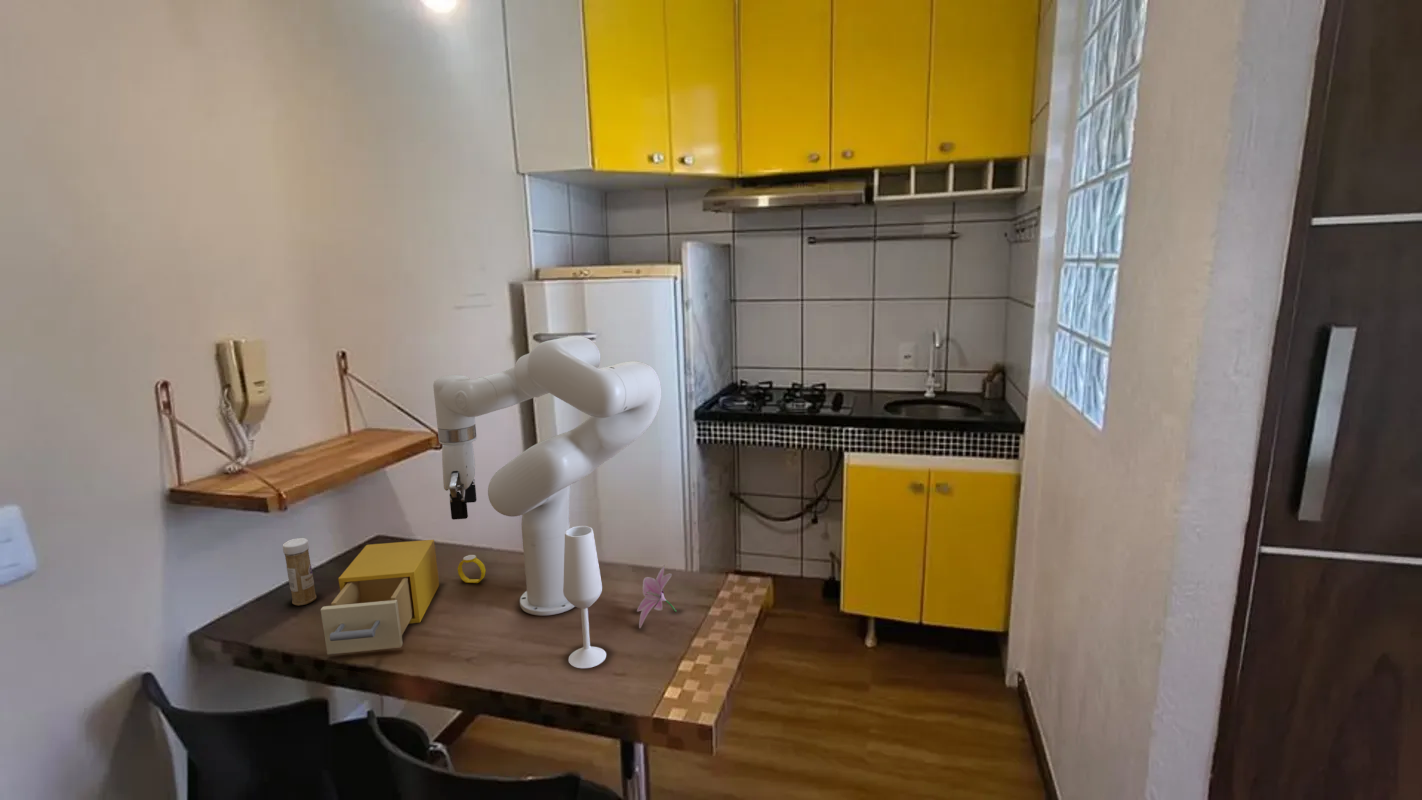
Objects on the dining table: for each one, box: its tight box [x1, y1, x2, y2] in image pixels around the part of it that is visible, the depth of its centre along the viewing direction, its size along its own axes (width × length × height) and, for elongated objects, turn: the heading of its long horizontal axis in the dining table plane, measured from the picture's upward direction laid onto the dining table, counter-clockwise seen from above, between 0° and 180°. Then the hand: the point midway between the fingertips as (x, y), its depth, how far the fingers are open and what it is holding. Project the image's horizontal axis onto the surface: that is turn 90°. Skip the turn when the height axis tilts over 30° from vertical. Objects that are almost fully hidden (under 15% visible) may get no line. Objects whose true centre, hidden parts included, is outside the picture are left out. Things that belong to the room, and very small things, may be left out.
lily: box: [636, 564, 677, 629], centre depth 133 cm, size 12×12×10 cm
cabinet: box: [338, 539, 440, 625], centre depth 139 cm, size 16×14×11 cm
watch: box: [457, 554, 487, 584], centre depth 149 cm, size 6×3×6 cm, turn 80°
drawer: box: [320, 577, 414, 655], centre depth 126 cm, size 19×13×9 cm, turn 9°
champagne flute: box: [563, 525, 607, 669], centre depth 118 cm, size 7×7×24 cm
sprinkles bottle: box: [282, 537, 317, 607], centre depth 141 cm, size 5×5×14 cm
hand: (464, 510), depth 146 cm, fingers open, 9 cm apart
